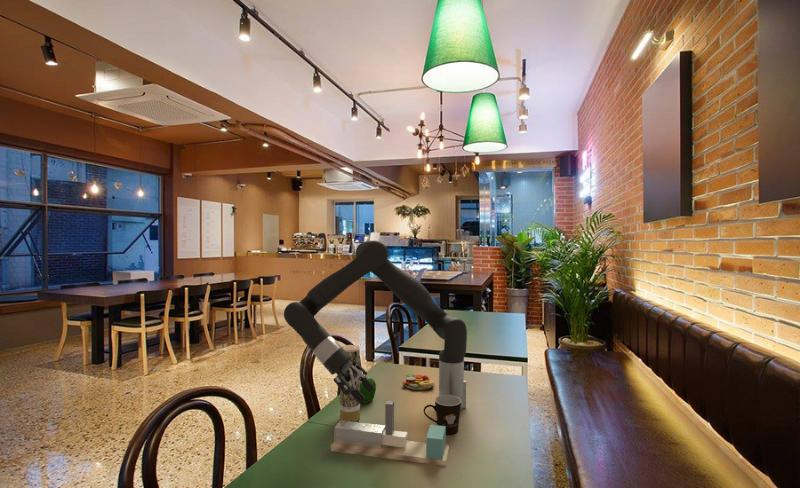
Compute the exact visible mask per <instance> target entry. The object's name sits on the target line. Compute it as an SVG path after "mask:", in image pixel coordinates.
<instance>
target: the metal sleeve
mask: <svg viewBox="0 0 800 488" xmlns="http://www.w3.org/2000/svg"><path fill="white" fill-rule="evenodd" d="M333 429H334V430H333V431H334V432H333V433H334V434H333V435H334V436H333V439H334V441H333V442H334V443H337V444H345V445H352V446H360V447H368V448H376V449H381V448H382V447H383V445H382V432H383V431H384V430H385V425H383V424H375V423H367V422H359V421H357V422H350V421H341V420H340V419H339V422H338V423H337V424H336V425H335V426H334V428H333Z"/></svg>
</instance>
